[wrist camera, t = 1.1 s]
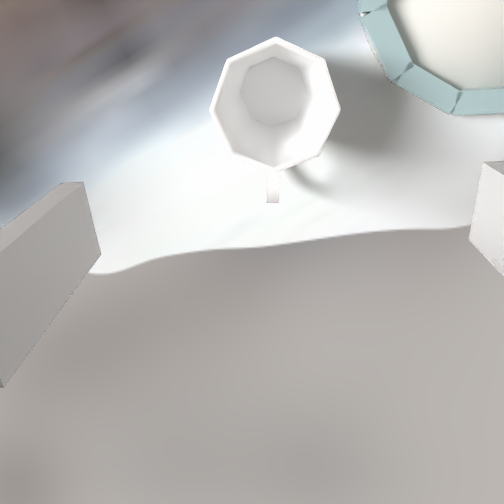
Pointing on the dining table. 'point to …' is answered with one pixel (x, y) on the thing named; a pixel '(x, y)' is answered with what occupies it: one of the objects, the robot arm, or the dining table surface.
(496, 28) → the saucer
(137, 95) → the dining table surface
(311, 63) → the cup
